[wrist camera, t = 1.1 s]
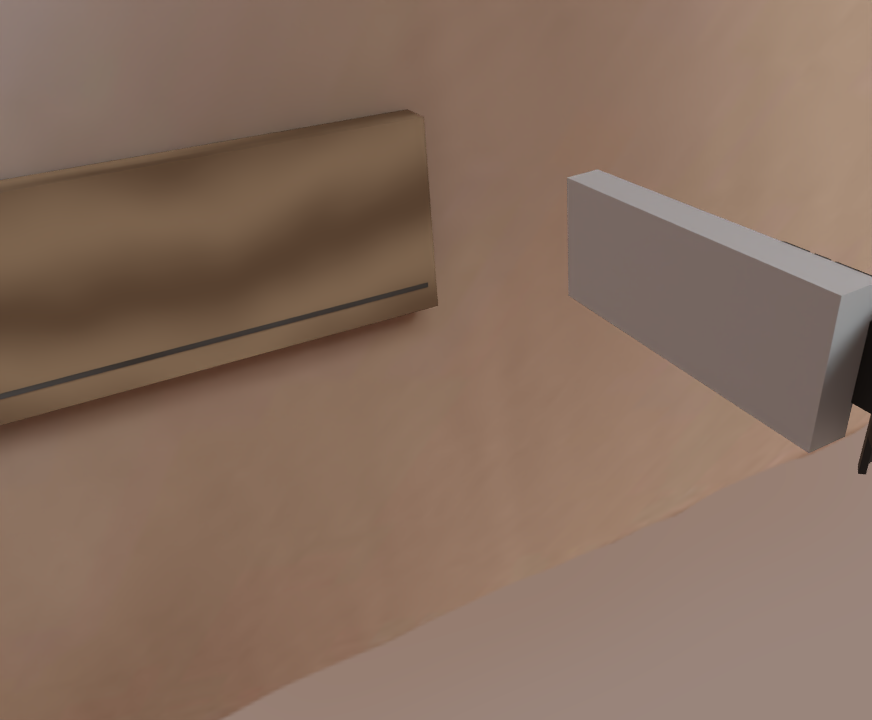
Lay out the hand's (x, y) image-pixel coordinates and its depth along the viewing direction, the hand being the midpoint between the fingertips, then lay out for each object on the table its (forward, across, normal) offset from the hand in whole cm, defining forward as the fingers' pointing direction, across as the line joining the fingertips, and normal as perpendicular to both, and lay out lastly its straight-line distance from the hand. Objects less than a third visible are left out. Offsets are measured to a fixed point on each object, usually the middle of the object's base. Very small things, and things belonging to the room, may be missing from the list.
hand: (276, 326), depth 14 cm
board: (+22, -3, -6) cm, 23 cm away
